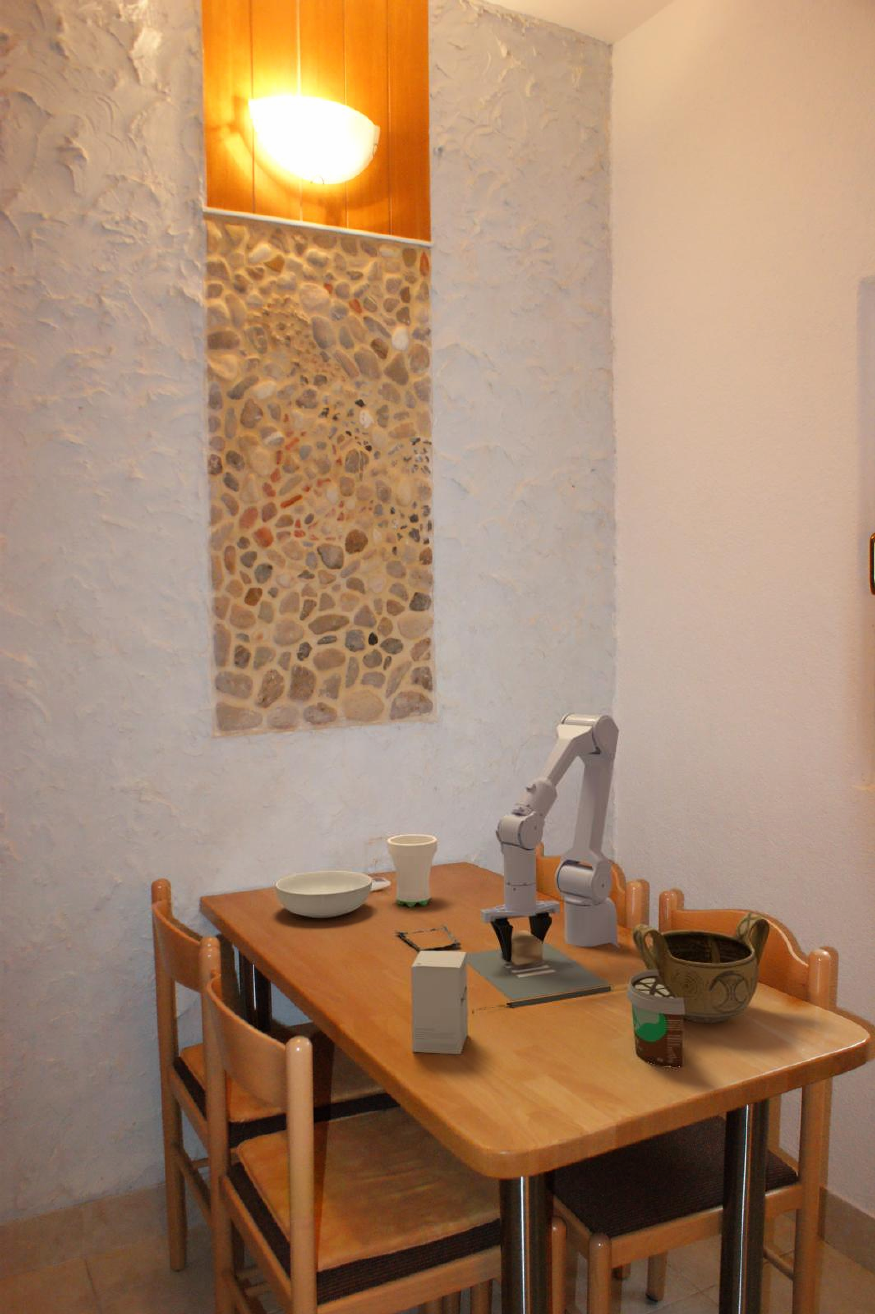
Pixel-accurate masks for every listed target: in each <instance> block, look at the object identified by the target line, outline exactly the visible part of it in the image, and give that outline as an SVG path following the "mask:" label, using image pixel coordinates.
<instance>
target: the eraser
mask: <svg viewBox="0 0 875 1314" xmlns="http://www.w3.org/2000/svg"><path fill="white" fill-rule="evenodd" d="M499 949H501V947H500V948H499ZM511 954H512V956H511V961H510V962H507V961H506V960H504V959H503V955H502V951H501V959H502V960H504V961H505V962H506V963H508V964H509V965H510V966H511V967H513V968H514V969H515V970H517V971H518V970H524V969H531V968H538V967H543V949H542V941H541V940H540V939H538V938H537V937H535V936H534V935H532V934H531V932H529V931H527V930H526V929H523V930H516V931H515V930H514V931H512V939H511Z"/></svg>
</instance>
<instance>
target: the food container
mask: <svg viewBox="0 0 875 1314" xmlns="http://www.w3.org/2000/svg"><path fill="white" fill-rule="evenodd" d="M625 998H626V999H627V1001H628V1002H629V1003H630V1004H631V1014H632V1025H633V1027H632V1028H633V1034H634V1036H633V1037H634V1045H635V1046H634V1047H635V1054H636V1056H637V1057H638V1058H639V1057H640V1058H641V1059H640V1058H639V1059H640V1060H642V1061H643V1060H644V1061H643V1062H645V1063H647V1062H649V1063H648V1064H650V1063H652V1064H651V1065H653V1064H655V1065H654V1066H657V1065H659V1066H658V1067H661V1066H671V1067H679V1066H680V1067H682V1068H683V1051H684V1050H683V1048H684V1047H683V1045H684V1044H683V1043H684V1042H683V1041H684V1018H683V1014H685V1008H684V1001H683V998H676V997H675V995H674V994H673V992H672V990H671V989H670V987H669V986H667V985H666V984H664V983H663V982H662V981H661V980H660V979H659V977H658V970H649V971H647V970H646V971H641V972H638V973H636V974H634V975H633V976H631V978H630V979H629V982H628V985H627V990H626V994H625Z"/></svg>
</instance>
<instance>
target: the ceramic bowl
mask: <svg viewBox="0 0 875 1314" xmlns="http://www.w3.org/2000/svg"><path fill="white" fill-rule="evenodd" d="M770 930H771V926H770V924H769V922H768V920H767V919H765V918H763V917H762V916H760V915H758V914H756V913H753V912H748V913H746V914H744V915H743V916H742V917H741V918H740V920H739V922H738V923H737V926H736V927H735V930H734V933H733V935H730V934H727V933H722V932H717V931H710V930H705V929H704V930H702V929H679V930H678V929H676V930H669V931H664V932H660V931H659V930H657V929H656V928H654V927H651V926H650V925H647V924H644V923H639V924H637V925H636V926H635V927H634V928H633V931H632V940H633V943H634V945H635V948H636V949H637V952H638V954H639V955H640V957H641V959H642V962H643V964H644V966H645V967H646V971H649V970H658V977H659V979H660V980H661V981H662V982H663V983H664V984H666V985H667V986H669V987H670V989H671V990H672V992H673V994H674V995H675V997H676V998H683V1001H684V1008H685V1014H683V1019H685V1020H688V1021H692V1022H695V1023H698V1024H700V1023H701V1024H715V1023H720V1022H724V1021H727V1020H730V1019H732V1018H734V1017H736V1016H738V1015H739V1014H741V1013H742V1012H743V1011H744V1010H745V1009H746V1008H747V1007H748V1006H749V1005H750V1003H751V1001H752V999H753V997H754V995H755V993H756V990H757V988H758V982H759V966H760V963H761V959H762V956H763V953H764V950H765V948H766V947H765V946H766V943H767V941H768V938H769V934H770ZM648 934H649V935H650V936H651V939H650V941H649V946H648V944H647V942H646V938H647V936H648Z"/></svg>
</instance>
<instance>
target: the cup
mask: <svg viewBox="0 0 875 1314" xmlns="http://www.w3.org/2000/svg"><path fill="white" fill-rule="evenodd" d="M386 842H387V843H386V845H387V852H388V854H389V855H390V857H391V861H392V863H393V866H394V869H395V875H396V876H395V877H396V886H397V887H396V889H395V890H396V891H395V897H396V898H395V899H396V902H397V905H402V906H403V905H407V907H409V908H412V907H414V906H415V905H416V904H417V903H418V905H421V906H426V905H427V904H428V902H429V901H430V899H431V895H432V894H431V887H430V875H431V874H430V873H431V868H432V863H433V861H434V857H435V855H436V852H437V851H438V839H437V838H436V837H435V836H433V835H430V834H417V833H416V834H415V833H414V834H413V833H412V834H411V833H410V834H401V835H395V836H392V837H389V838H388V839H387V841H386Z"/></svg>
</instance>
